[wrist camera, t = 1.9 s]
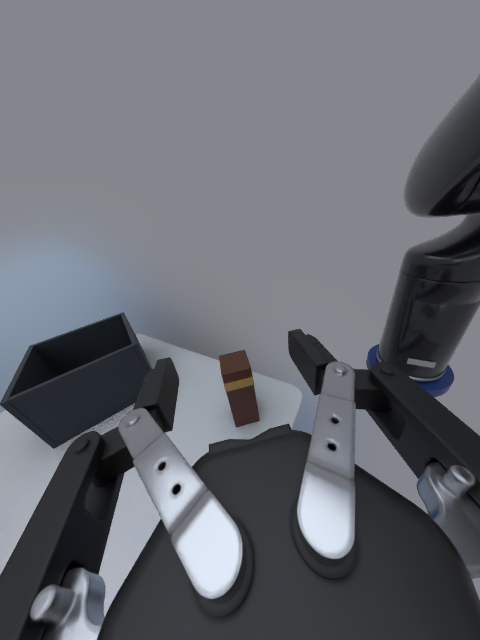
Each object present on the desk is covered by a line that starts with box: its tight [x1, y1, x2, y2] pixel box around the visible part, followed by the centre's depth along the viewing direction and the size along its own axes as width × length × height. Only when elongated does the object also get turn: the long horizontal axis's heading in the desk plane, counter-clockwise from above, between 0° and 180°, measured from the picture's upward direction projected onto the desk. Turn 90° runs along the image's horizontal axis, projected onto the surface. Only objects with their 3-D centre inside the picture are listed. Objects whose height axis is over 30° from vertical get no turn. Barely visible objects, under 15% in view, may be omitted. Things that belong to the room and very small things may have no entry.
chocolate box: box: [219, 350, 259, 427], centre depth 30 cm, size 4×4×12 cm
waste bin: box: [0, 313, 152, 448], centre depth 41 cm, size 19×19×12 cm
